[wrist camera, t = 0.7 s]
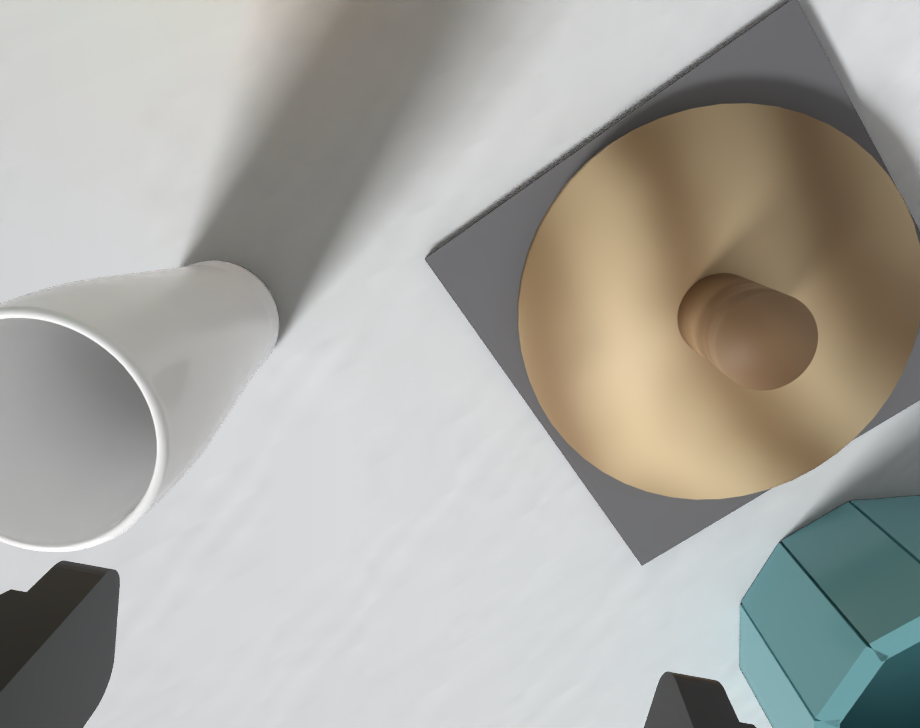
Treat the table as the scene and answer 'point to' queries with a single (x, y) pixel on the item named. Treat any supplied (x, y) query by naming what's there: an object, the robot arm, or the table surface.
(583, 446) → the lid
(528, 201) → the mat
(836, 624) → the bowl
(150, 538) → the table surface
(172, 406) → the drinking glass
